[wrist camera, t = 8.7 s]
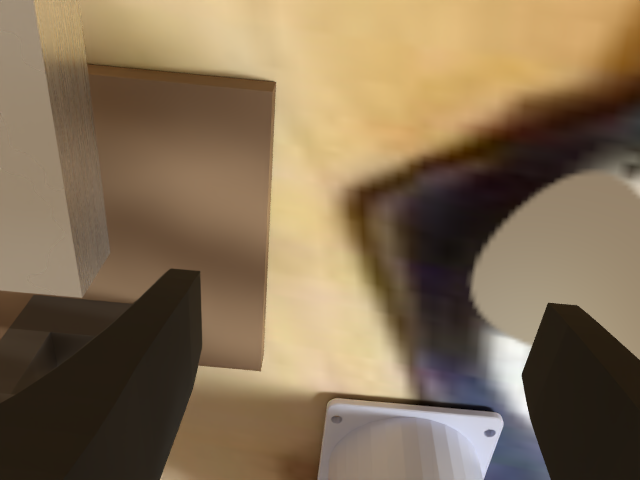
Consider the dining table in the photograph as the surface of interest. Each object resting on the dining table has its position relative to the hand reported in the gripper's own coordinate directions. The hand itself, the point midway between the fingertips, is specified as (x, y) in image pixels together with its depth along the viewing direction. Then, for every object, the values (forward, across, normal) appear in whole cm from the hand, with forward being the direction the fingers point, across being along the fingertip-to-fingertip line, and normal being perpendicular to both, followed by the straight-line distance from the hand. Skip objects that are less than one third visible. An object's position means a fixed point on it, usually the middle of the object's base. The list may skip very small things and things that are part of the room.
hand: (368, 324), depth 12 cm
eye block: (+9, +9, +5) cm, 14 cm away
